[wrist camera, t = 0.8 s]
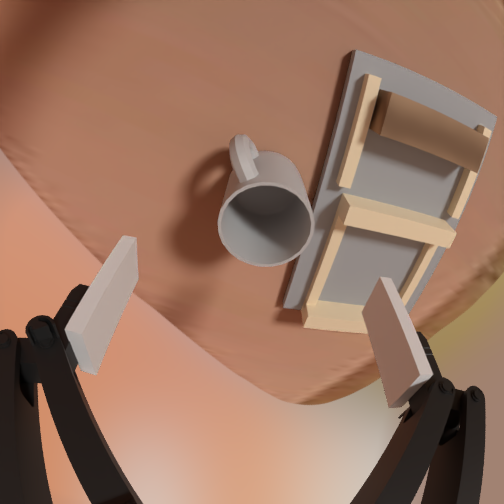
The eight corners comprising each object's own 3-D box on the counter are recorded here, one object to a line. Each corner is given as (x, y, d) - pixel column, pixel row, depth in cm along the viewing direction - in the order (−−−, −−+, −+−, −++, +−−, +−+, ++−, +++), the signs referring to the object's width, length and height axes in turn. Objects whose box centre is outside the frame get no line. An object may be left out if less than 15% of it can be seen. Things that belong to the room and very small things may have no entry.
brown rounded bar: (379, 89, 23) (392, 92, 21) (473, 130, 24) (489, 138, 22) (368, 128, 25) (380, 135, 23) (462, 163, 26) (477, 173, 24)
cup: (246, 225, 33) (241, 277, 26) (204, 140, 28) (183, 170, 21) (310, 202, 31) (325, 250, 24) (275, 112, 26) (281, 129, 19)
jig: (352, 50, 22) (366, 47, 19) (491, 114, 24) (513, 123, 20) (282, 301, 39) (284, 325, 35) (401, 314, 40) (410, 336, 37)
